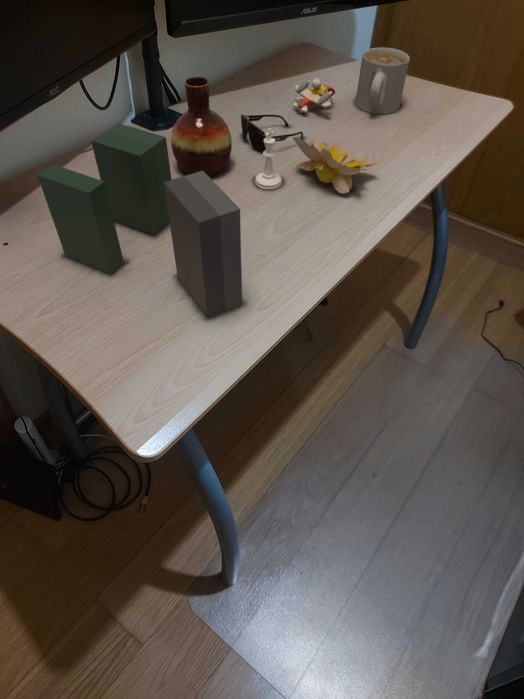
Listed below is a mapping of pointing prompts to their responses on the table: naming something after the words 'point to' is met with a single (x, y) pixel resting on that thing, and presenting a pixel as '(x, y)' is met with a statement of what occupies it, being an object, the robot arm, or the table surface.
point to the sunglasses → (260, 131)
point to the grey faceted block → (205, 241)
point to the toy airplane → (313, 95)
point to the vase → (200, 133)
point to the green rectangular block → (134, 176)
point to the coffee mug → (382, 80)
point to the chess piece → (268, 166)
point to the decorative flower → (332, 163)
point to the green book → (82, 217)
